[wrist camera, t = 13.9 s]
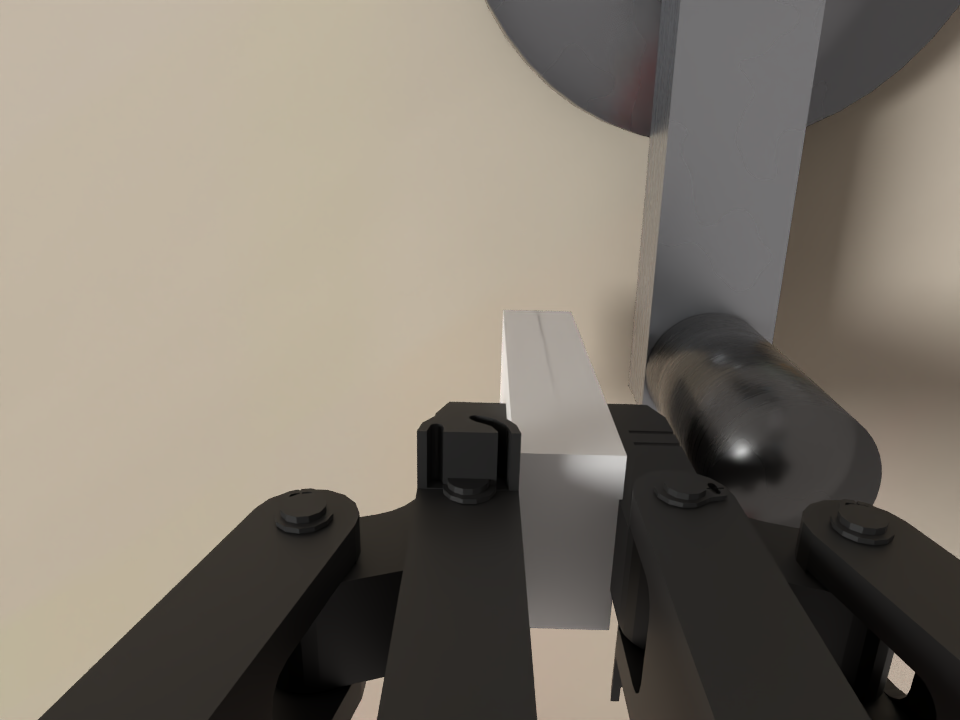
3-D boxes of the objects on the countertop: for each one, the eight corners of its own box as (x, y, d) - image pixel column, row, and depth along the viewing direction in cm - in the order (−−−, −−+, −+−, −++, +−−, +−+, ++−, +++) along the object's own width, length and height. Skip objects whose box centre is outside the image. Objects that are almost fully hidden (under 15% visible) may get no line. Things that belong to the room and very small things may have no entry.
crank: (622, -330, 13) (736, -695, 7) (908, -328, 13) (1274, -692, 7) (577, 396, 18) (622, 553, 12) (786, 399, 18) (939, 559, 12)
